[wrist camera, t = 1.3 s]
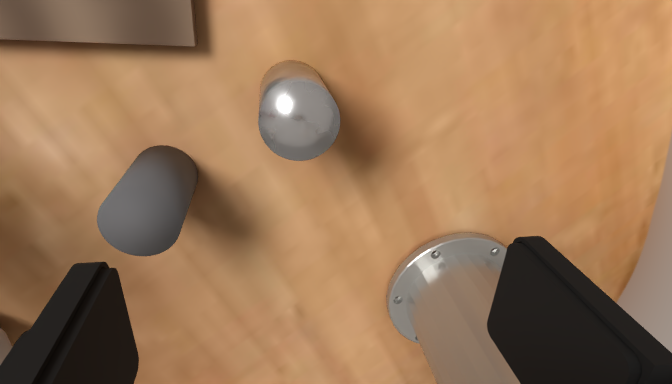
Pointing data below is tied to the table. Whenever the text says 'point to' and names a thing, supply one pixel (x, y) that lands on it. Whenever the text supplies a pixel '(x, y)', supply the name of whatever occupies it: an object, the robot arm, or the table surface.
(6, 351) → the donut
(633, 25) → the table surface
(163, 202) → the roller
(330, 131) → the steel roller
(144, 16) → the socket board
